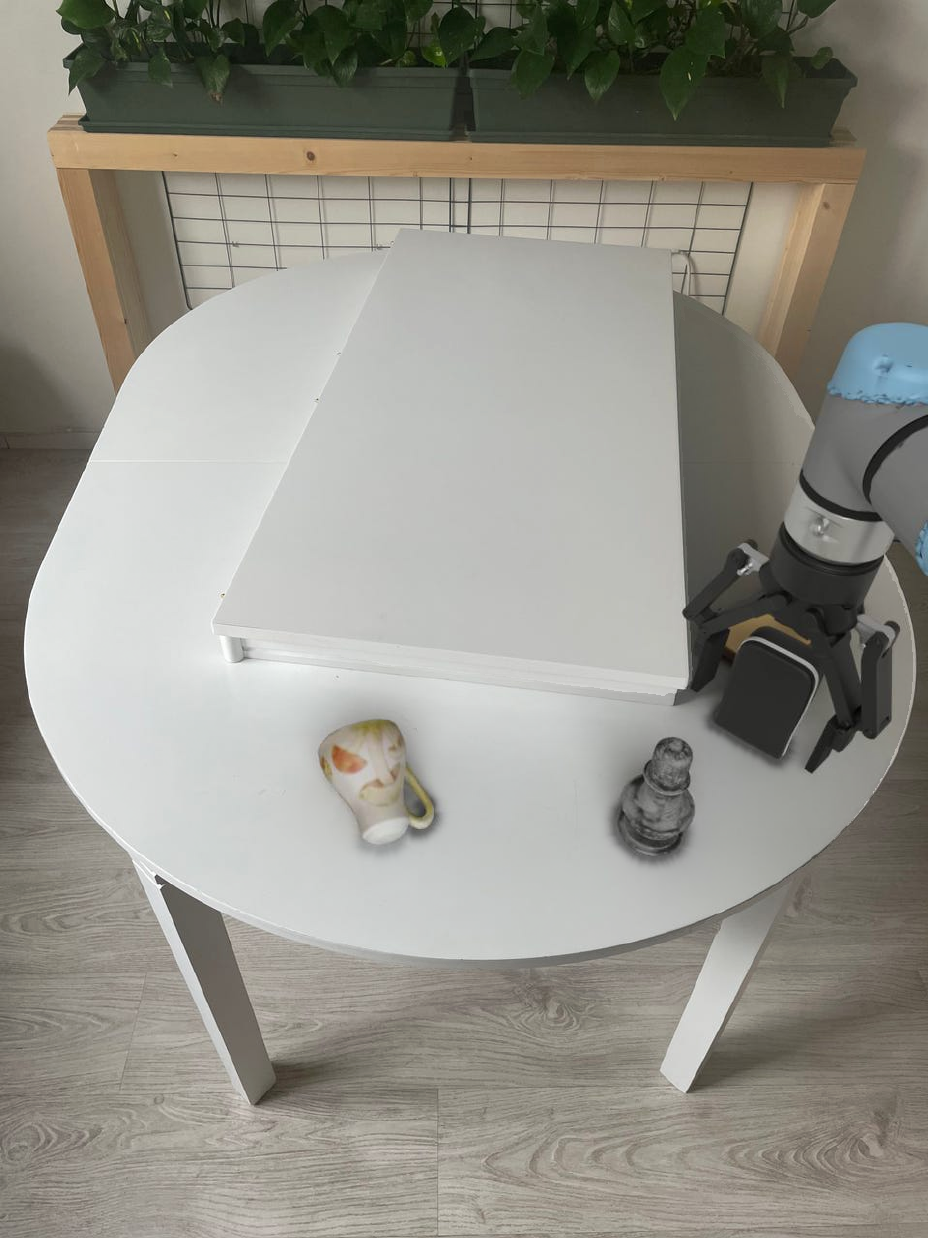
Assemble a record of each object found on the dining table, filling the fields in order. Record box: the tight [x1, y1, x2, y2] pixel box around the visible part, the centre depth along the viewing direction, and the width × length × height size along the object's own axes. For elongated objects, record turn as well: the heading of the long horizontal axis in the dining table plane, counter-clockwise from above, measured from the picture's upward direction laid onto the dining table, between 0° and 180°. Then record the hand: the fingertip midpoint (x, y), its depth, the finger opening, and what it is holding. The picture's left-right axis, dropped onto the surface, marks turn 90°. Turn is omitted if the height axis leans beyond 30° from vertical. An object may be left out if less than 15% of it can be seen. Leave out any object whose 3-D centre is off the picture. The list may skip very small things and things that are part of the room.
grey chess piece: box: [617, 736, 696, 857], centre depth 72 cm, size 6×6×12 cm
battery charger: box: [713, 626, 825, 759], centre depth 80 cm, size 7×4×11 cm, turn 51°
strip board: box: [722, 613, 812, 663], centre depth 93 cm, size 7×16×1 cm, turn 133°
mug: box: [317, 718, 435, 846], centre depth 75 cm, size 8×10×10 cm
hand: (757, 721), depth 83 cm, fingers open, 11 cm apart
